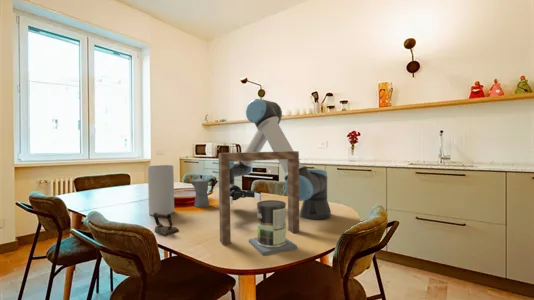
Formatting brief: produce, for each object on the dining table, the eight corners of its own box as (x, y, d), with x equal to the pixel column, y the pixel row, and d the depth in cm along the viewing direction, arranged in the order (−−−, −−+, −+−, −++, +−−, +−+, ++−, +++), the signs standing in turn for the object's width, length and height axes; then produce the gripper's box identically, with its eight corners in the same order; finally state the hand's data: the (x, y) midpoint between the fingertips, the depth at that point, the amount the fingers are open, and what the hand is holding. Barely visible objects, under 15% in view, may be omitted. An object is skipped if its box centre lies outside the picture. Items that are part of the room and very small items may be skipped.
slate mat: (280, 236, 104) (280, 234, 104) (297, 248, 93) (297, 245, 93) (248, 241, 99) (248, 239, 99) (262, 255, 87) (262, 252, 87)
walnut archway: (294, 229, 113) (293, 151, 113) (299, 232, 110) (298, 151, 109) (219, 241, 100) (218, 153, 100) (222, 244, 97) (221, 153, 96)
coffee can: (258, 248, 90) (257, 206, 90) (256, 237, 101) (256, 200, 100) (288, 247, 91) (288, 205, 91) (283, 236, 101) (283, 199, 101)
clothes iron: (166, 237, 106) (160, 213, 106) (149, 239, 112) (143, 216, 112) (180, 231, 112) (174, 208, 112) (163, 233, 118) (157, 211, 118)
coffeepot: (193, 208, 151) (193, 176, 151) (188, 205, 159) (187, 175, 158) (218, 204, 160) (218, 174, 160) (212, 202, 168) (211, 173, 167)
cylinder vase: (168, 208, 151) (167, 164, 151) (178, 213, 142) (177, 166, 142) (145, 213, 143) (144, 166, 142) (154, 217, 134) (153, 167, 133)
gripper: (255, 196, 145) (271, 204, 125) (208, 201, 135) (219, 210, 115) (254, 183, 145) (271, 188, 125) (208, 186, 135) (218, 193, 115)
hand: (246, 199), depth 120 cm, fingers open, 13 cm apart
